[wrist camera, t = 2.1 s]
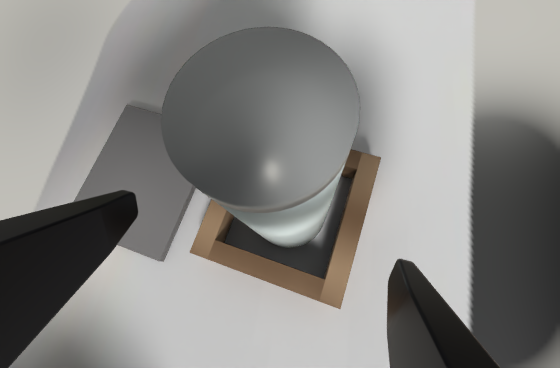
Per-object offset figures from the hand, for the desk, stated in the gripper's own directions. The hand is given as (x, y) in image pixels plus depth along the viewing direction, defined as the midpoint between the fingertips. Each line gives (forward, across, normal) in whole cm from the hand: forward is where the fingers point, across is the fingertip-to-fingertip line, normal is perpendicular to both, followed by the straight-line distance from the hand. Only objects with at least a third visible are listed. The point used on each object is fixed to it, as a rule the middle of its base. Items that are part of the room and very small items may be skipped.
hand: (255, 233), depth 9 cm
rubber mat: (+9, +11, +5) cm, 15 cm away
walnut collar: (+9, 0, +5) cm, 10 cm away
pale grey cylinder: (+9, 0, +5) cm, 10 cm away
